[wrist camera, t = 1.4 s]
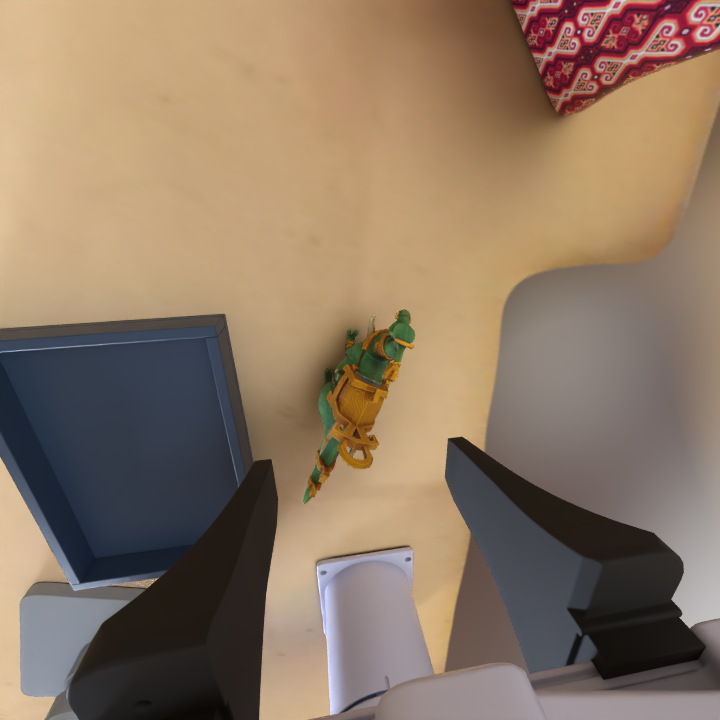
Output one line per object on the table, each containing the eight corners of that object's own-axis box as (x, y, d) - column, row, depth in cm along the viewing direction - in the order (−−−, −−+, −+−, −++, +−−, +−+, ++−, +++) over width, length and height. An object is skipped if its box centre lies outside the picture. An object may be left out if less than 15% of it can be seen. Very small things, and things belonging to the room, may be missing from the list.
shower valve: (-29, 799, 24) (-43, 674, 19) (29, 700, 29) (29, 580, 24) (161, 787, 27) (189, 676, 22) (183, 699, 32) (211, 593, 27)
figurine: (409, 302, 20) (467, 351, 13) (325, 456, 24) (333, 564, 16) (363, 280, 20) (398, 319, 12) (283, 443, 23) (272, 551, 16)
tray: (267, 534, 26) (263, 562, 24) (93, 558, 24) (73, 591, 22) (225, 313, 19) (215, 325, 17) (-18, 329, 18) (-62, 344, 16)
